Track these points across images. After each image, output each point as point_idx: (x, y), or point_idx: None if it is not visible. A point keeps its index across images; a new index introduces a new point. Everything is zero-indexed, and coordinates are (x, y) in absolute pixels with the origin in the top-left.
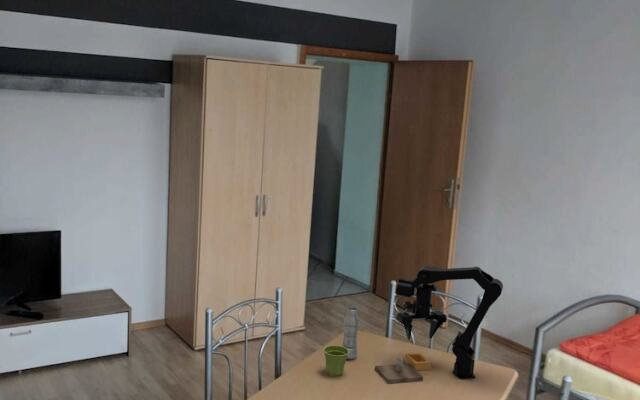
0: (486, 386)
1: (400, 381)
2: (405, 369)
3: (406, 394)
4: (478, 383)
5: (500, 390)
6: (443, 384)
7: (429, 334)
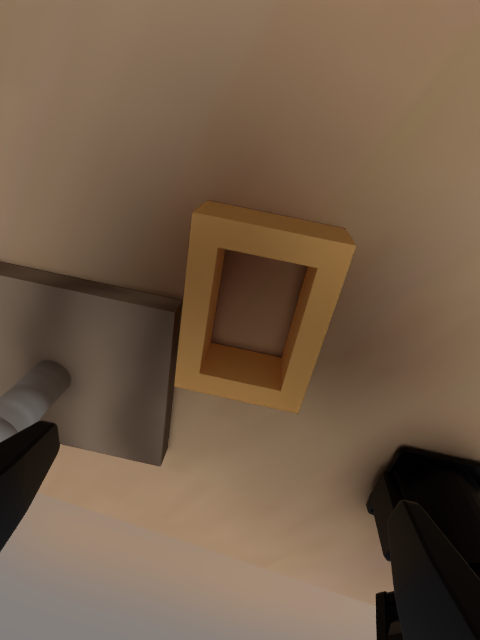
0: None
1: None
2: (104, 372)
3: None
4: None
5: None
6: (243, 501)
7: (421, 550)
